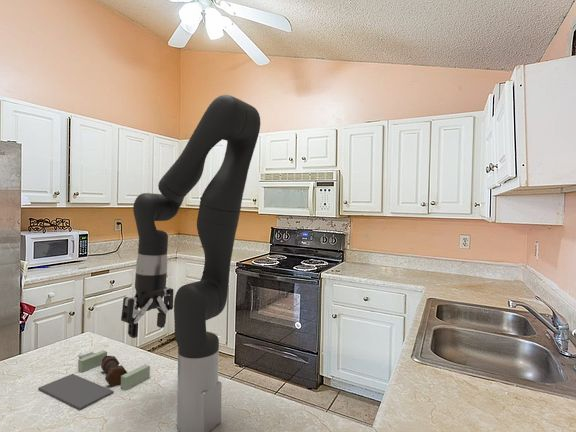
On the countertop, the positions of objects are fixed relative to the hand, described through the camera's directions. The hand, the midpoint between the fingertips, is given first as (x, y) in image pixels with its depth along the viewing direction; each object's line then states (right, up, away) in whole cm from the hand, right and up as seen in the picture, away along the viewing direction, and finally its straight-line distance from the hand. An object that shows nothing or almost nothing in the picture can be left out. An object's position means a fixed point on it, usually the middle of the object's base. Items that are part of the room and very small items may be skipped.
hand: (147, 331), depth 87 cm
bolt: (-16, -18, +13) cm, 27 cm away
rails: (-18, -17, +15) cm, 29 cm away
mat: (-21, -17, +3) cm, 27 cm away
